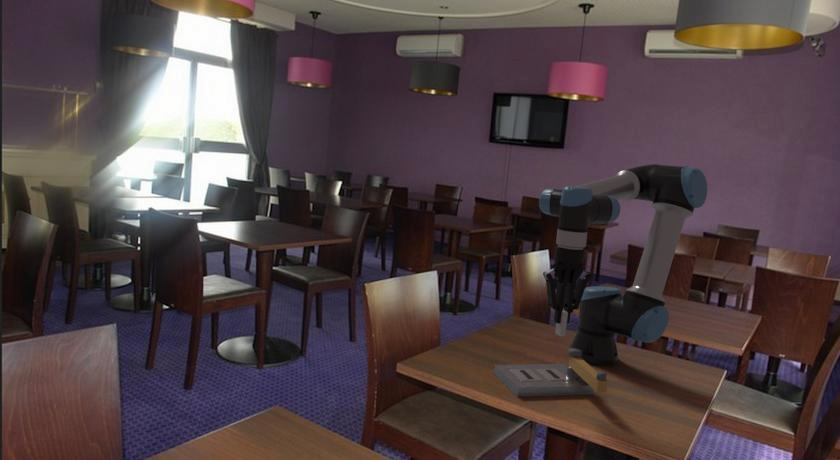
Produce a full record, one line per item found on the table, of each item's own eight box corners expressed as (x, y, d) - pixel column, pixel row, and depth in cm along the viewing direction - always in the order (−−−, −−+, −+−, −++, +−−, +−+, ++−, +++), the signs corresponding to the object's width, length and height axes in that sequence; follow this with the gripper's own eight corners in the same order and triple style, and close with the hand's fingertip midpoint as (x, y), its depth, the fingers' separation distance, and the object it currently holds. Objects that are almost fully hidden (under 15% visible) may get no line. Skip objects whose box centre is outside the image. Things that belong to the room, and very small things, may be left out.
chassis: (563, 372, 176) (565, 357, 176) (592, 394, 161) (594, 378, 160) (493, 373, 170) (495, 357, 170) (517, 396, 155) (519, 379, 154)
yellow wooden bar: (564, 363, 169) (566, 347, 168) (576, 363, 170) (578, 348, 169) (594, 392, 149) (597, 374, 149) (608, 392, 150) (610, 375, 149)
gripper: (585, 245, 160) (575, 330, 163) (540, 243, 156) (531, 330, 160) (600, 250, 153) (589, 339, 156) (554, 248, 149) (544, 339, 153)
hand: (560, 334), depth 158 cm, fingers closed
